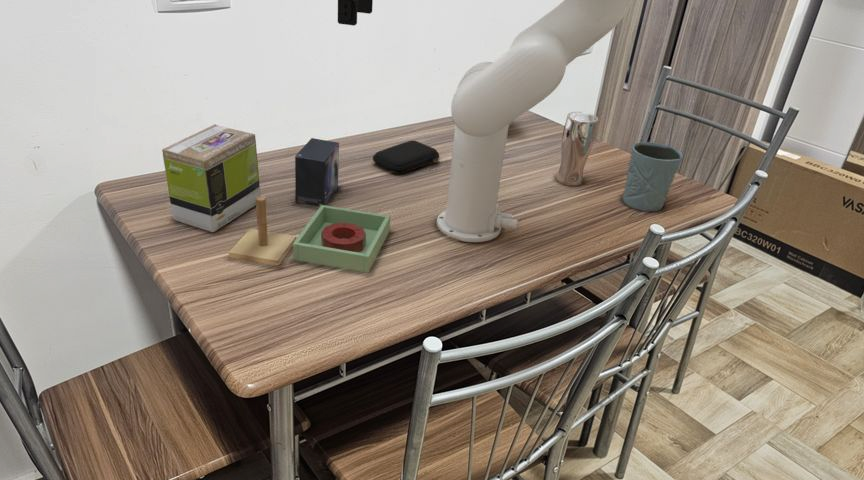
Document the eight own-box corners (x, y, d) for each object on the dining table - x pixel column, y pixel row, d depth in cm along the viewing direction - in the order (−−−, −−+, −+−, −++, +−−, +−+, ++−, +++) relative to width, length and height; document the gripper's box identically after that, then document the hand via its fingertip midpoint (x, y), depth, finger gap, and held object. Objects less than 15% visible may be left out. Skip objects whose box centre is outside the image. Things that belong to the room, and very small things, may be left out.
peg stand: (296, 243, 125) (295, 191, 119) (278, 268, 118) (275, 213, 112) (250, 235, 126) (246, 183, 121) (229, 259, 119) (224, 205, 113)
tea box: (221, 191, 141) (215, 122, 133) (262, 203, 137) (258, 133, 129) (170, 220, 129) (160, 146, 121) (213, 234, 126) (205, 159, 118)
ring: (369, 237, 127) (370, 226, 126) (358, 258, 121) (358, 246, 120) (329, 231, 129) (329, 219, 127) (316, 251, 122) (316, 239, 121)
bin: (389, 232, 130) (390, 215, 128) (368, 275, 118) (368, 256, 116) (321, 221, 132) (321, 204, 130) (293, 261, 120) (292, 243, 118)
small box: (325, 209, 137) (325, 160, 131) (294, 205, 138) (292, 156, 132) (340, 187, 145) (340, 141, 140) (310, 183, 146) (310, 136, 141)
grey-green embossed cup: (610, 200, 148) (624, 148, 142) (632, 187, 155) (646, 137, 148) (654, 217, 143) (670, 164, 136) (675, 203, 149) (691, 151, 143)
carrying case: (402, 179, 151) (445, 162, 160) (403, 166, 149) (446, 150, 158) (368, 164, 157) (412, 148, 166) (369, 151, 155) (413, 136, 164)
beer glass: (551, 182, 154) (563, 118, 146) (557, 171, 160) (569, 109, 152) (581, 189, 152) (596, 124, 144) (587, 177, 158) (601, 114, 150)
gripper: (366, -89, 101) (362, 32, 110) (393, -97, 115) (388, 10, 124) (317, -93, 102) (318, 26, 111) (350, -101, 116) (348, 6, 125)
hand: (355, 18), depth 118 cm, fingers open, 9 cm apart
